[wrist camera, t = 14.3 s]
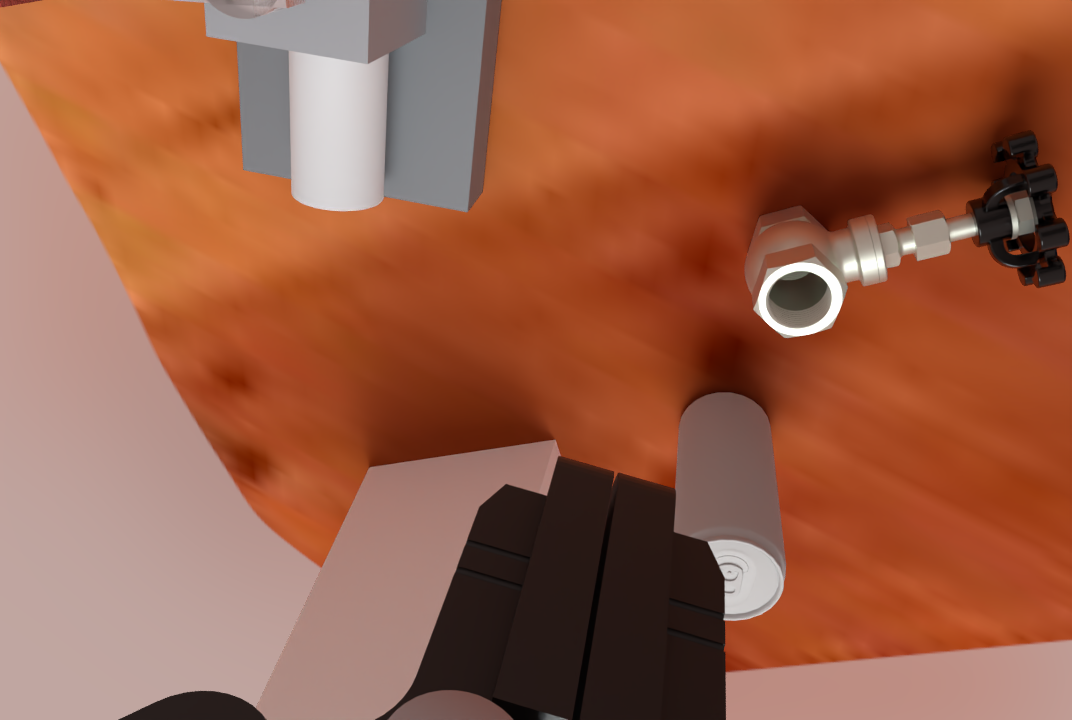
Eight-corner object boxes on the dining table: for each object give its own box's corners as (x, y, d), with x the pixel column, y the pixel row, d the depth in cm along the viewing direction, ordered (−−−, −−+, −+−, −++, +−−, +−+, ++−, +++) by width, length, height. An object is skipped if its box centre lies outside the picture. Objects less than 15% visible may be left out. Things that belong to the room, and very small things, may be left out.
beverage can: (777, 392, 44) (797, 546, 34) (762, 466, 47) (776, 631, 36) (684, 381, 45) (676, 529, 35) (674, 455, 47) (664, 613, 37)
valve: (758, 311, 42) (1023, 250, 39) (766, 377, 37) (1076, 313, 33) (726, 189, 40) (1007, 110, 36) (729, 240, 34) (1062, 153, 30)
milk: (555, 439, 48) (423, 916, 26) (605, 589, 53) (530, 1098, 31) (369, 467, 52) (112, 909, 29) (432, 605, 57) (252, 1074, 34)
